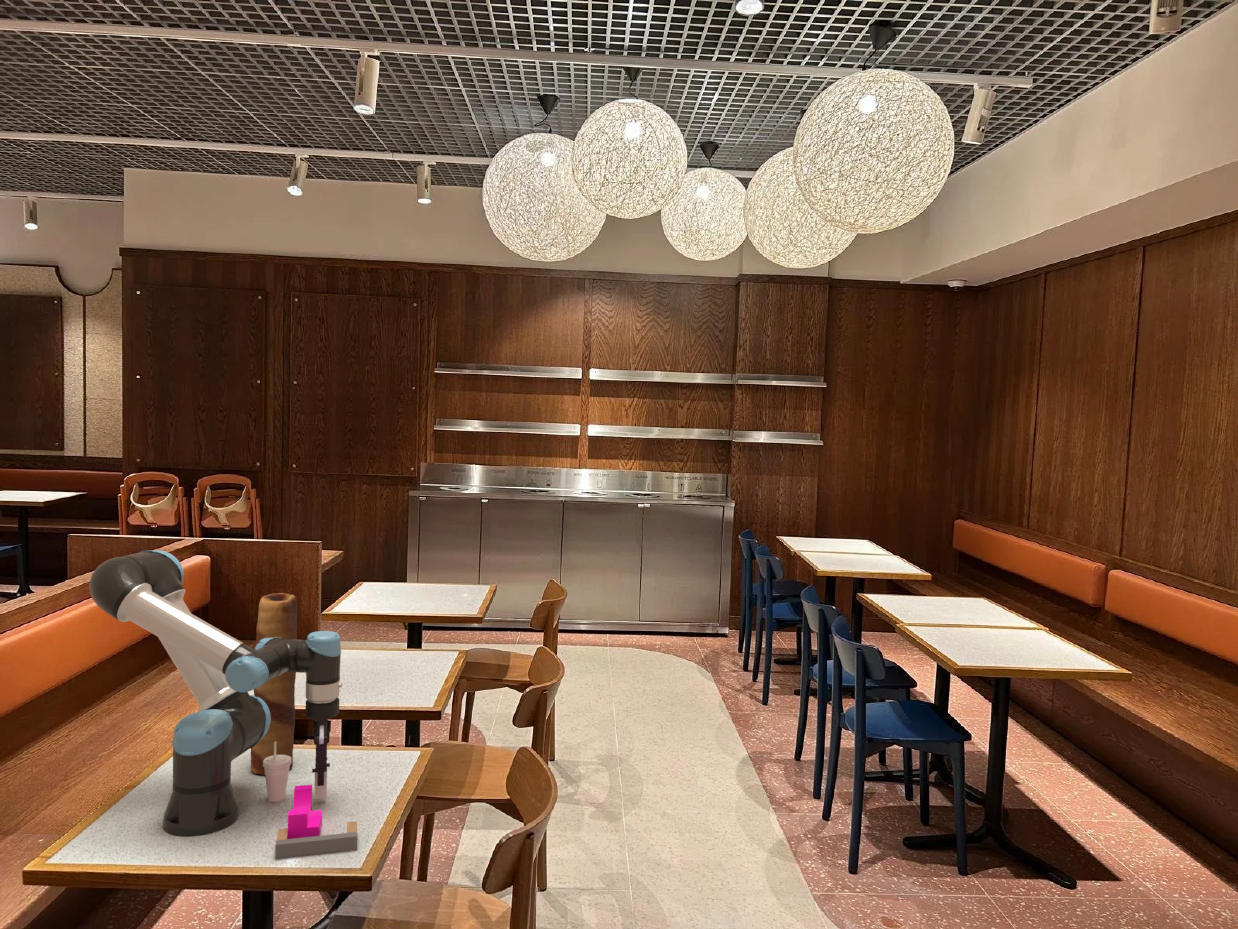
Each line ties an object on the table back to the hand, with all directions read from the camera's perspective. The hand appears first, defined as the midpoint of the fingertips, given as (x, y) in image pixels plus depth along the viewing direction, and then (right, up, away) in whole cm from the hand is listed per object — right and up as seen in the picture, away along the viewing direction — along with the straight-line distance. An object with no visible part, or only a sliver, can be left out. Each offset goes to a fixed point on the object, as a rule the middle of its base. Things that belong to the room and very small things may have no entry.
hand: (320, 796), depth 201 cm
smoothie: (-11, -1, +1) cm, 11 cm away
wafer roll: (-19, 0, +19) cm, 27 cm away
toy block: (+2, -3, -13) cm, 14 cm away
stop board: (+7, -3, -21) cm, 22 cm away
